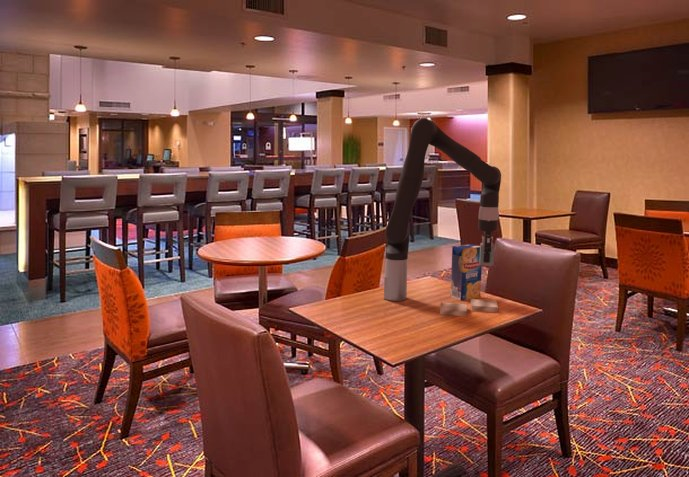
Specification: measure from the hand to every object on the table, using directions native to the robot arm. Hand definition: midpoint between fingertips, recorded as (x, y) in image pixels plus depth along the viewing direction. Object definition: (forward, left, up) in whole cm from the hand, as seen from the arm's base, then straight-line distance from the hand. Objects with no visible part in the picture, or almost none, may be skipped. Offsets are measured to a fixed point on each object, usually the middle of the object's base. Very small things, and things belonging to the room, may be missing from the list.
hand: (486, 260), depth 216 cm
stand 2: (0, 0, -19) cm, 19 cm away
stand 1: (-12, -8, -19) cm, 24 cm away
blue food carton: (-7, +15, -19) cm, 26 cm away
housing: (0, 0, -1) cm, 1 cm away
